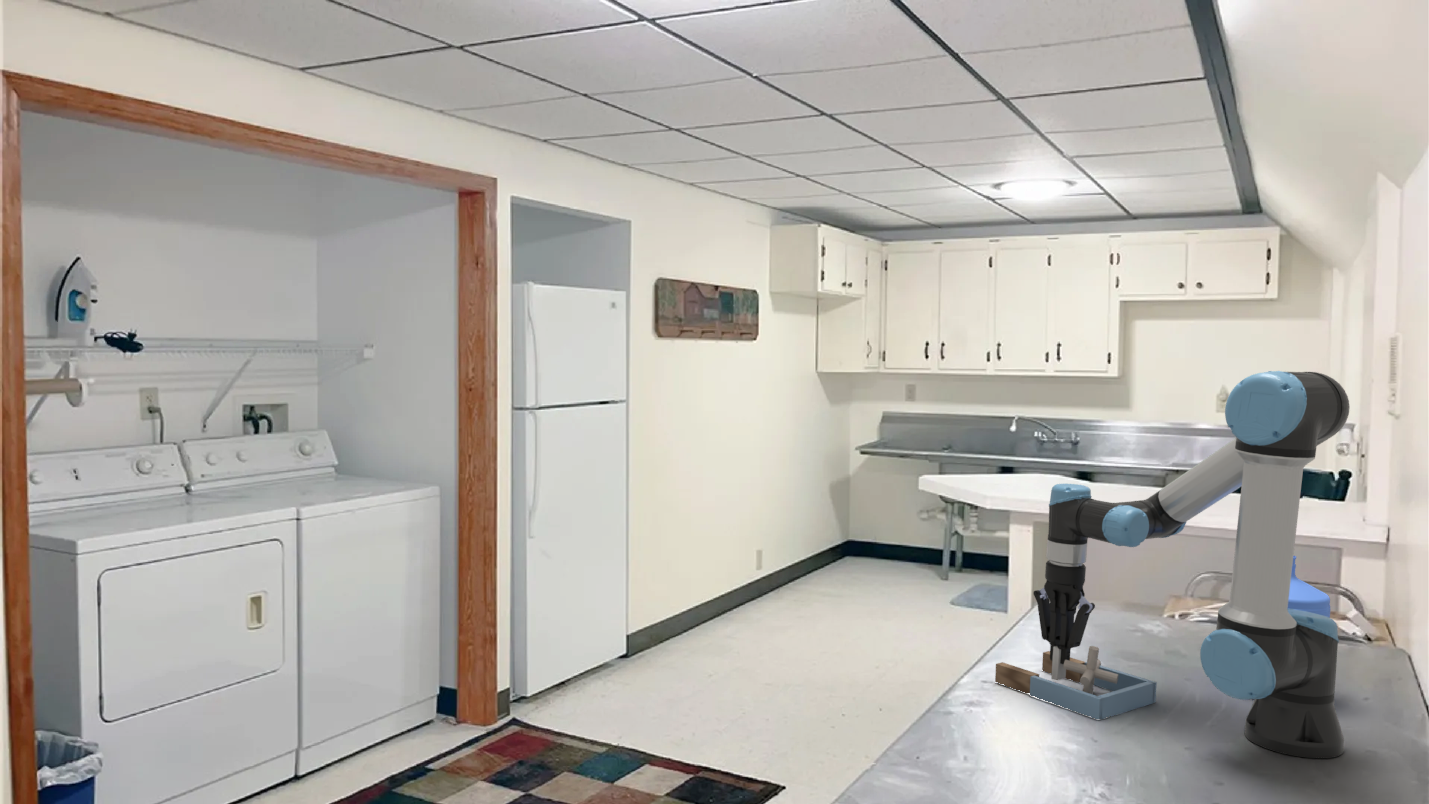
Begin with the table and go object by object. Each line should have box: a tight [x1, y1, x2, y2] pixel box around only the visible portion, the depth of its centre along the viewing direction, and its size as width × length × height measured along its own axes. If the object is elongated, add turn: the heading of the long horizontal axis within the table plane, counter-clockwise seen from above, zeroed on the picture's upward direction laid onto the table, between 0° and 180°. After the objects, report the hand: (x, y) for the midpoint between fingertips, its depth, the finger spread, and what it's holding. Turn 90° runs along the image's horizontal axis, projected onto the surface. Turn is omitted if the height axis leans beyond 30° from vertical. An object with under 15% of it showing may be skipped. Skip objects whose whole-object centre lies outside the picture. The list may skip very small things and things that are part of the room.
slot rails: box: [994, 650, 1086, 694], centre depth 211 cm, size 9×17×4 cm, turn 125°
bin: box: [1029, 661, 1158, 720], centre depth 201 cm, size 15×18×4 cm
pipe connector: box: [1063, 645, 1119, 694], centre depth 202 cm, size 10×10×10 cm
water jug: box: [1288, 555, 1331, 618], centre depth 206 cm, size 16×16×28 cm
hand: (1058, 678), depth 208 cm, fingers closed
